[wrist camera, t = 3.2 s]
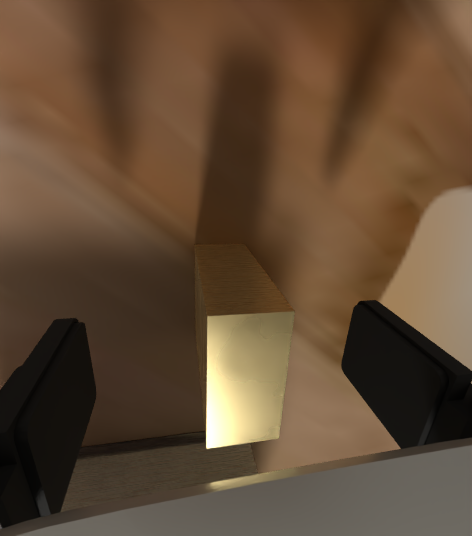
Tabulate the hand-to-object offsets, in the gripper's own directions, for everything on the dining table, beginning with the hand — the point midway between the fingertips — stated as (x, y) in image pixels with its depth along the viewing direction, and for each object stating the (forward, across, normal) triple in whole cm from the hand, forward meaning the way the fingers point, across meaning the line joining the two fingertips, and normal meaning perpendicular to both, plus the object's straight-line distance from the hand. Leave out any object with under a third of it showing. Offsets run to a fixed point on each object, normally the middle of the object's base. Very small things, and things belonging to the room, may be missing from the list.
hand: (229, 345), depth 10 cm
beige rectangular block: (+6, 0, +1) cm, 6 cm away
